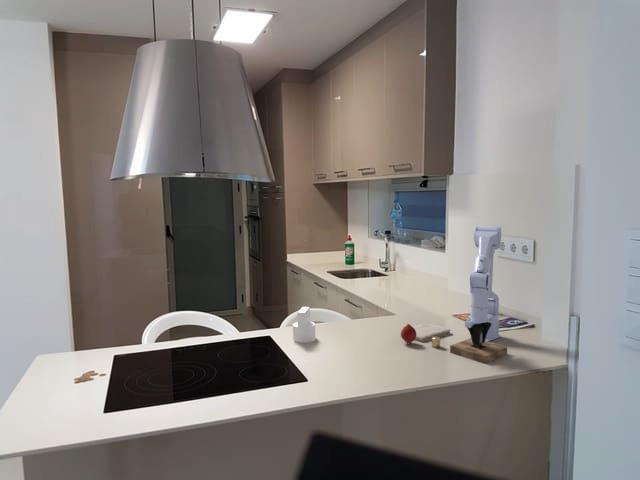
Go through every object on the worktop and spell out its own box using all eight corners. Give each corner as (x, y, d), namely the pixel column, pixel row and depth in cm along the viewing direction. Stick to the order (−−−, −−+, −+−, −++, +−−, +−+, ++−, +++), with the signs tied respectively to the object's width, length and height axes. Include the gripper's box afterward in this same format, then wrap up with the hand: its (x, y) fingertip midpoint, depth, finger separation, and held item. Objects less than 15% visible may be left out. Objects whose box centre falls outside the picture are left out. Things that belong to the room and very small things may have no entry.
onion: (416, 341, 174) (416, 321, 173) (415, 346, 168) (415, 326, 167) (401, 340, 175) (401, 320, 174) (400, 345, 170) (400, 325, 169)
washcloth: (452, 334, 183) (452, 327, 182) (422, 344, 172) (422, 336, 172) (429, 327, 192) (429, 321, 192) (400, 336, 182) (400, 328, 182)
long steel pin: (476, 349, 163) (477, 328, 162) (484, 352, 160) (484, 330, 159) (471, 351, 161) (472, 330, 160) (478, 353, 159) (479, 332, 158)
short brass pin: (435, 344, 170) (435, 336, 169) (441, 346, 167) (441, 337, 167) (430, 346, 168) (430, 337, 168) (436, 348, 166) (436, 339, 165)
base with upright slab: (312, 343, 174) (312, 313, 173) (290, 342, 176) (289, 312, 174) (317, 335, 183) (317, 307, 181) (296, 334, 185) (295, 306, 183)
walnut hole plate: (472, 343, 170) (472, 337, 170) (507, 353, 159) (507, 347, 159) (450, 352, 162) (450, 345, 161) (485, 363, 151) (485, 356, 150)
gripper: (480, 300, 166) (479, 336, 168) (457, 307, 157) (456, 344, 159) (498, 304, 161) (497, 340, 162) (475, 311, 152) (474, 350, 153)
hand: (478, 343), depth 160 cm, fingers closed on long steel pin, 3 cm apart
